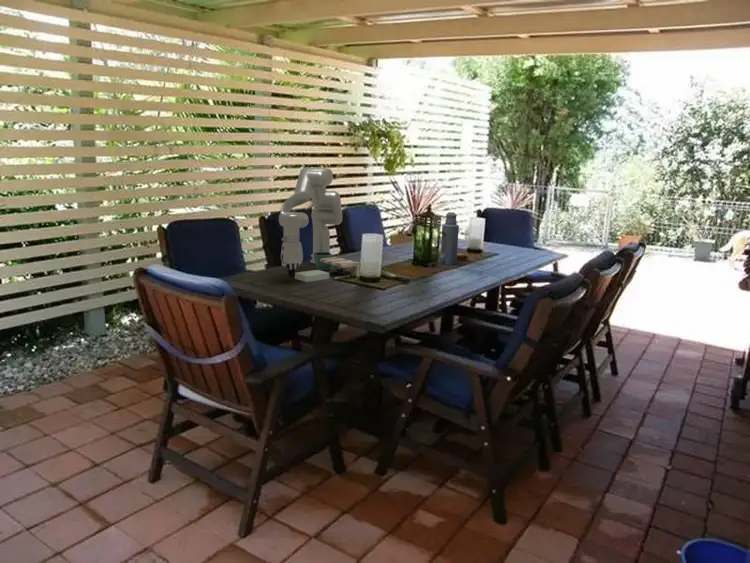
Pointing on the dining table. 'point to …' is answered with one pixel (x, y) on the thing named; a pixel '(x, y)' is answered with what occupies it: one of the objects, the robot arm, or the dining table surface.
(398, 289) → the dining table surface
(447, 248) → the bottle
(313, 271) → the pale green flat block
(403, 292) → the dining table surface
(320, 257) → the flower pot
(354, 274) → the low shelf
